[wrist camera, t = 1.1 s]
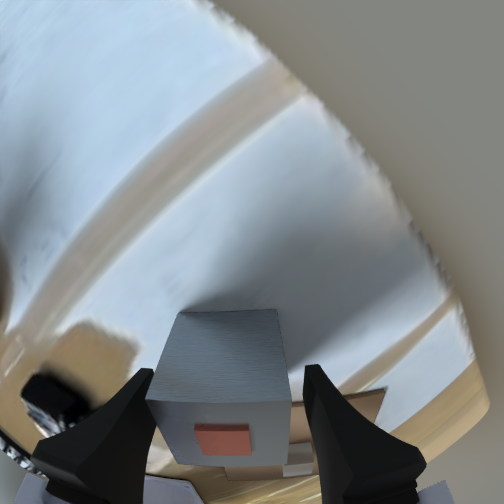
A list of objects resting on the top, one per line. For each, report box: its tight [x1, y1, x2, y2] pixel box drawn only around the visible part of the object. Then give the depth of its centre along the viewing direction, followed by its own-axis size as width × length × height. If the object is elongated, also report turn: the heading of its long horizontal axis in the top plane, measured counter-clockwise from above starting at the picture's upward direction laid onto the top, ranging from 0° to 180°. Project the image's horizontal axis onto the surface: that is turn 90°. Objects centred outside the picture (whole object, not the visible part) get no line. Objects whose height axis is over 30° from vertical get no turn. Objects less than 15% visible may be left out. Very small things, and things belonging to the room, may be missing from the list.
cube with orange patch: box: [145, 309, 292, 467], centre depth 12 cm, size 5×5×6 cm
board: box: [224, 389, 385, 481], centre depth 18 cm, size 12×12×3 cm
